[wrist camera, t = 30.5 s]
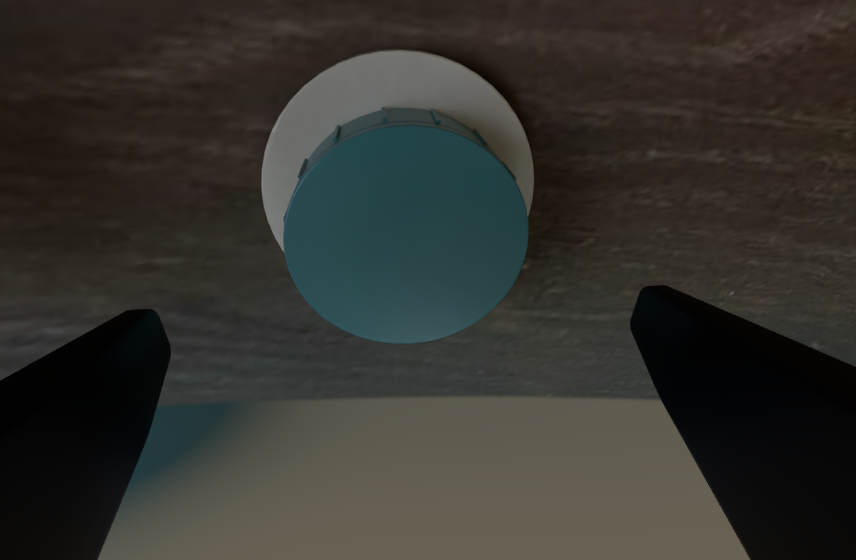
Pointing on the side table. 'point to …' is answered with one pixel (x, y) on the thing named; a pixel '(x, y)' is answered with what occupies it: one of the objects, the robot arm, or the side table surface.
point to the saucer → (392, 88)
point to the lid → (405, 227)
